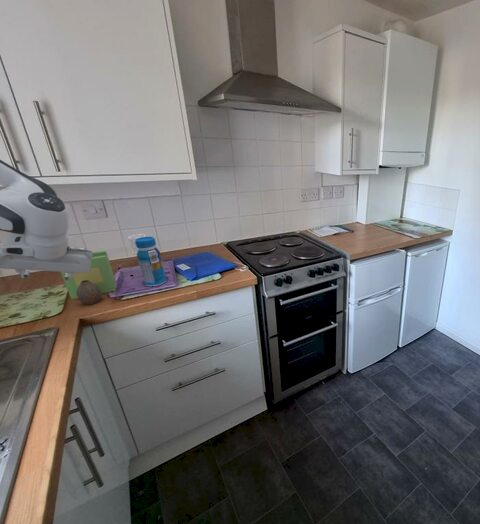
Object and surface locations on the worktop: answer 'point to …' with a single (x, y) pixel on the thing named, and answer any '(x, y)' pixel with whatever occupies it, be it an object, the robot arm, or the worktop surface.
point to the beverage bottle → (150, 262)
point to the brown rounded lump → (88, 292)
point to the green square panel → (94, 275)
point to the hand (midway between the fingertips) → (47, 278)
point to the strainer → (134, 242)
